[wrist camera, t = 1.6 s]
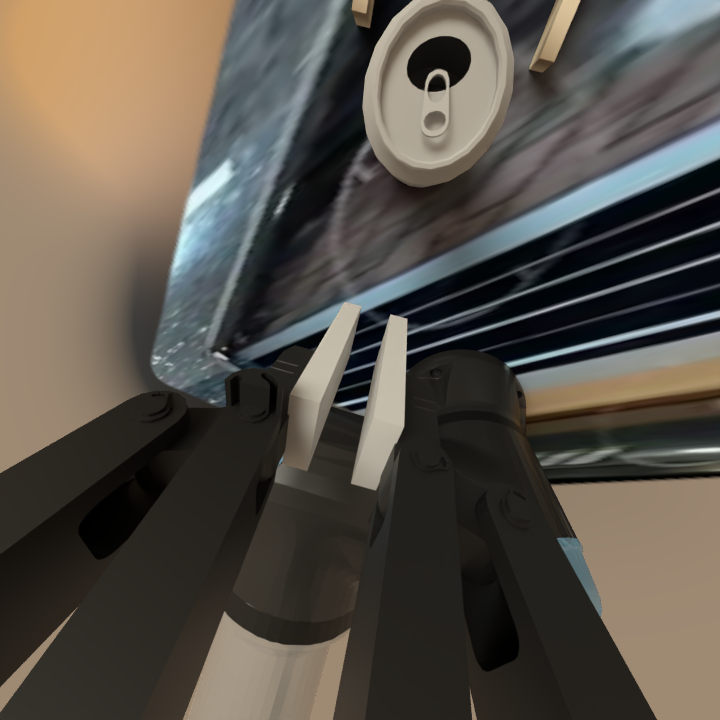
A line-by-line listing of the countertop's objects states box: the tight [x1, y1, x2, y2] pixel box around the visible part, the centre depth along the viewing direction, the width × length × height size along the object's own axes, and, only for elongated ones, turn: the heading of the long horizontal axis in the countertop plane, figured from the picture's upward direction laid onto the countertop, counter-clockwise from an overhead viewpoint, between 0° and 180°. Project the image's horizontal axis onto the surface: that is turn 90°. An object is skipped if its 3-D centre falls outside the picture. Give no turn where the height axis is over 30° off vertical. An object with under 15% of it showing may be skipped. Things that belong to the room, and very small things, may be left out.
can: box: [363, 0, 514, 188], centre depth 18 cm, size 8×8×12 cm
